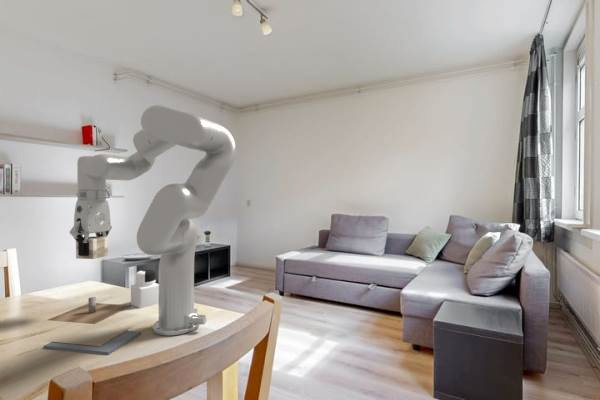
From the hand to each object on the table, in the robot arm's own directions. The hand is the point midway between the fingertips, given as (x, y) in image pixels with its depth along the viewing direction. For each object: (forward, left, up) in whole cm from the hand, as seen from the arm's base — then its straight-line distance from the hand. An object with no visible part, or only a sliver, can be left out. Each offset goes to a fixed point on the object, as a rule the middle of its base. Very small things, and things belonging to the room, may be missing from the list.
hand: (92, 253), depth 104 cm
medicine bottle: (-11, -11, -20) cm, 25 cm away
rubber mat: (-15, +16, -19) cm, 29 cm away
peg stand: (0, 0, -19) cm, 19 cm away
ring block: (0, 0, -1) cm, 1 cm away
